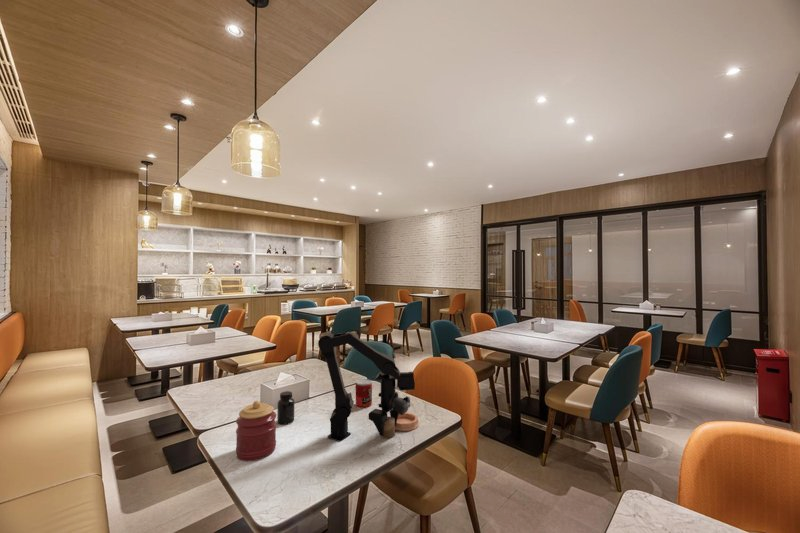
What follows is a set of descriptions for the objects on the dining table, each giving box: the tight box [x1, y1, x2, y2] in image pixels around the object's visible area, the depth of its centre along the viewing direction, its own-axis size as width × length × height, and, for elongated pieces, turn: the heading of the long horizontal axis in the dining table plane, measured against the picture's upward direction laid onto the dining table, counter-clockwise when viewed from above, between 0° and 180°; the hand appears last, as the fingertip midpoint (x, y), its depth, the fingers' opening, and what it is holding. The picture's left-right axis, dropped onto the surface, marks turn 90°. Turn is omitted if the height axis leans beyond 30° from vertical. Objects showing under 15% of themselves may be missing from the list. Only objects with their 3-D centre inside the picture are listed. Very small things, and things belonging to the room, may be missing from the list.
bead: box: [383, 416, 396, 439], centre depth 129 cm, size 5×5×6 cm
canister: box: [235, 400, 277, 462], centre depth 117 cm, size 13×13×18 cm
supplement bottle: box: [276, 390, 295, 426], centre depth 141 cm, size 7×7×12 cm
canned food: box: [355, 378, 373, 409], centre depth 159 cm, size 8×8×11 cm
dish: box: [395, 412, 420, 432], centre depth 138 cm, size 12×12×3 cm
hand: (388, 431), depth 129 cm, fingers open, 9 cm apart
